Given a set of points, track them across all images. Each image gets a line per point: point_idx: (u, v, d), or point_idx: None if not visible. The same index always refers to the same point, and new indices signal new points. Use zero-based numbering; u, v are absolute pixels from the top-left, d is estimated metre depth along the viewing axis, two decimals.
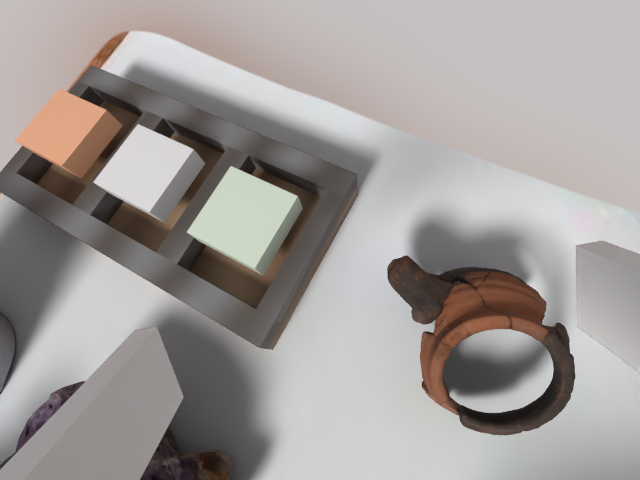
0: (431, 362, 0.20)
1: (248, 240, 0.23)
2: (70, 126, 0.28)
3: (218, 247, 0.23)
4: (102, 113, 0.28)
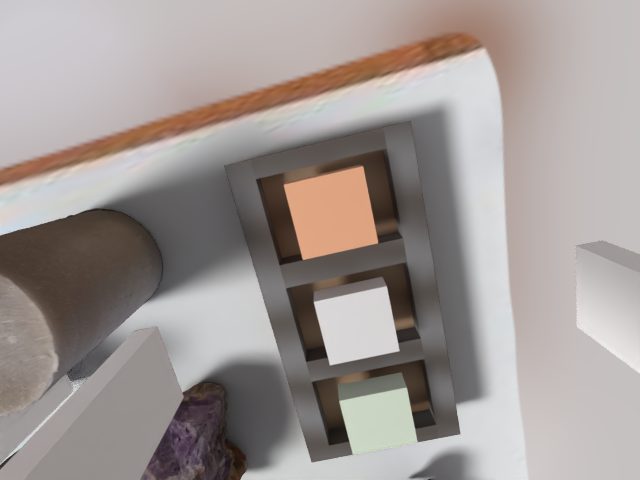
0: None
1: (365, 439, 0.30)
2: (337, 225, 0.25)
3: (346, 427, 0.30)
4: (372, 242, 0.26)
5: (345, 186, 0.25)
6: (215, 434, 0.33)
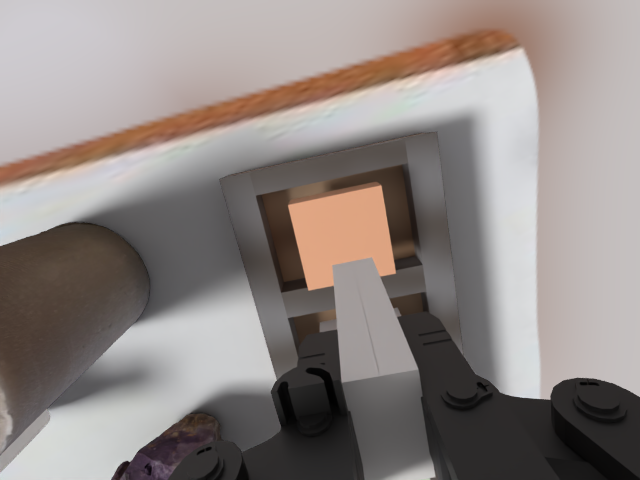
0: None
1: None
2: (349, 252, 0.22)
3: None
4: (389, 272, 0.22)
5: (360, 208, 0.21)
6: None
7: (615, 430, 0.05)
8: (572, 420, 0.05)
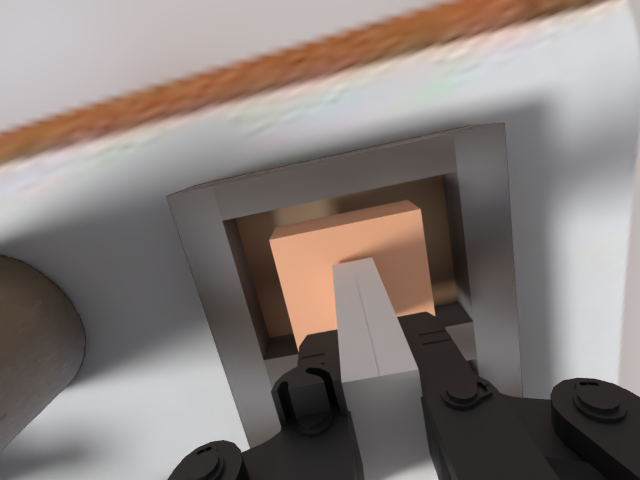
0: None
1: None
2: None
3: None
4: None
5: (385, 245, 0.13)
6: None
7: (615, 430, 0.05)
8: (572, 420, 0.05)
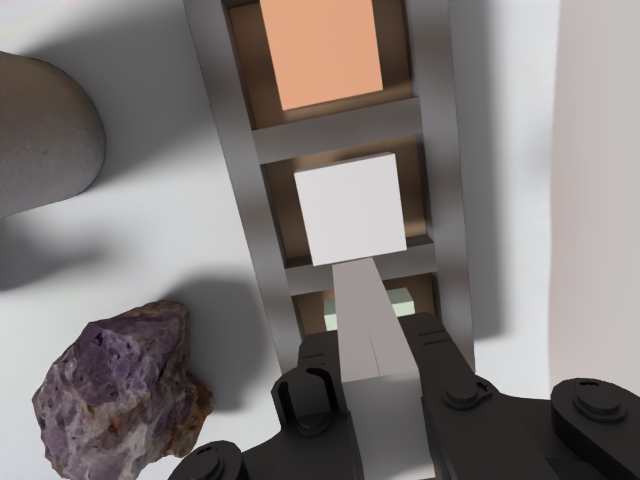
0: None
1: None
2: (330, 61, 0.19)
3: None
4: (375, 88, 0.19)
5: (342, 1, 0.18)
6: (172, 361, 0.27)
7: (615, 430, 0.05)
8: (572, 420, 0.05)
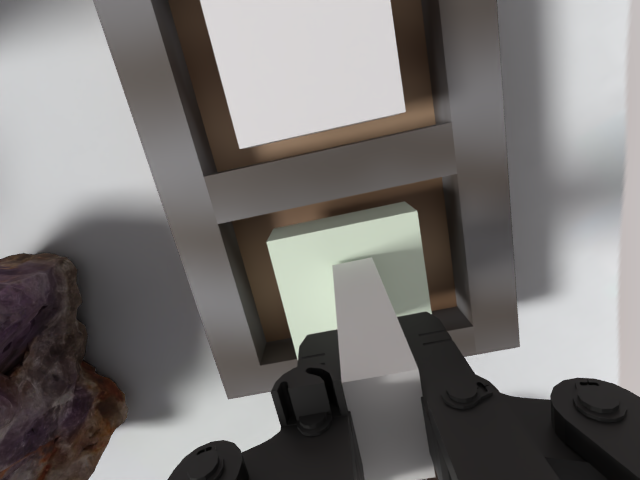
0: None
1: None
2: None
3: (285, 305, 0.14)
4: None
5: None
6: (44, 343, 0.17)
7: (615, 430, 0.05)
8: (572, 420, 0.05)
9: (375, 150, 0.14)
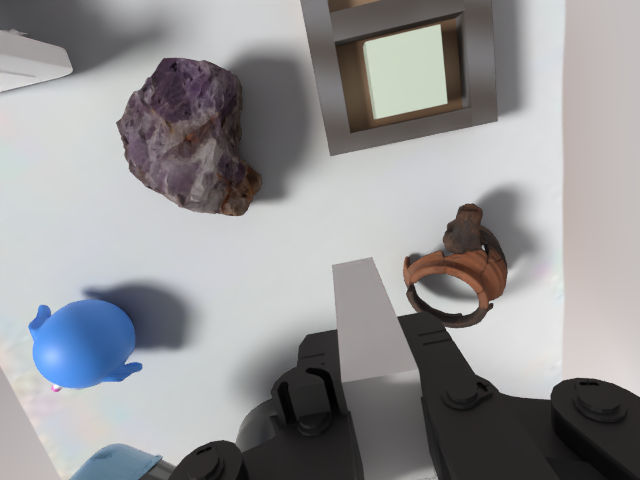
0: (429, 267, 0.31)
1: (391, 97, 0.28)
2: None
3: (372, 79, 0.27)
4: None
5: None
6: (229, 122, 0.30)
7: (615, 430, 0.05)
8: (572, 420, 0.05)
9: None
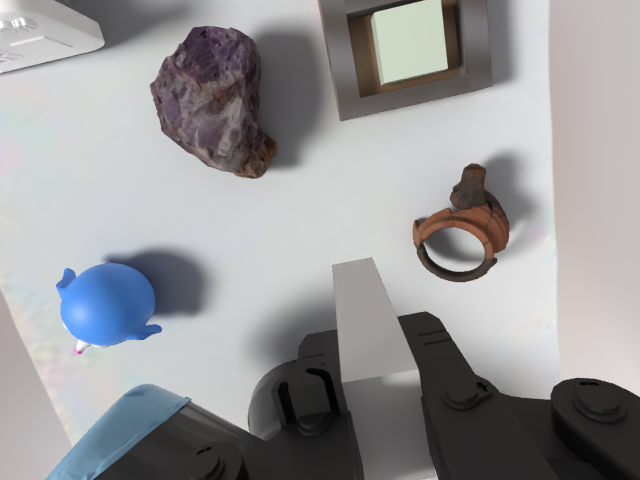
0: (438, 222, 0.34)
1: (397, 62, 0.31)
2: None
3: (380, 46, 0.31)
4: None
5: None
6: (249, 89, 0.33)
7: (615, 430, 0.05)
8: (572, 420, 0.05)
9: None
